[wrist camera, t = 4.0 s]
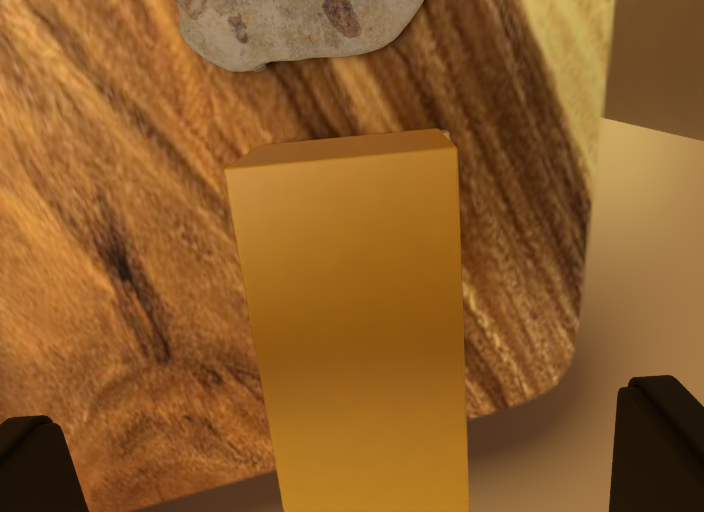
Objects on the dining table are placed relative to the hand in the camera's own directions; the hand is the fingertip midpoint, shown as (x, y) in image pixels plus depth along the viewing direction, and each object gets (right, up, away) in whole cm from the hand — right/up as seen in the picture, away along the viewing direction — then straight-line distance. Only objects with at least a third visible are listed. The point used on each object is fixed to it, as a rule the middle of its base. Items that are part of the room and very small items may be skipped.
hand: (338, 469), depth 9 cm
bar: (+1, +2, +5) cm, 6 cm away
